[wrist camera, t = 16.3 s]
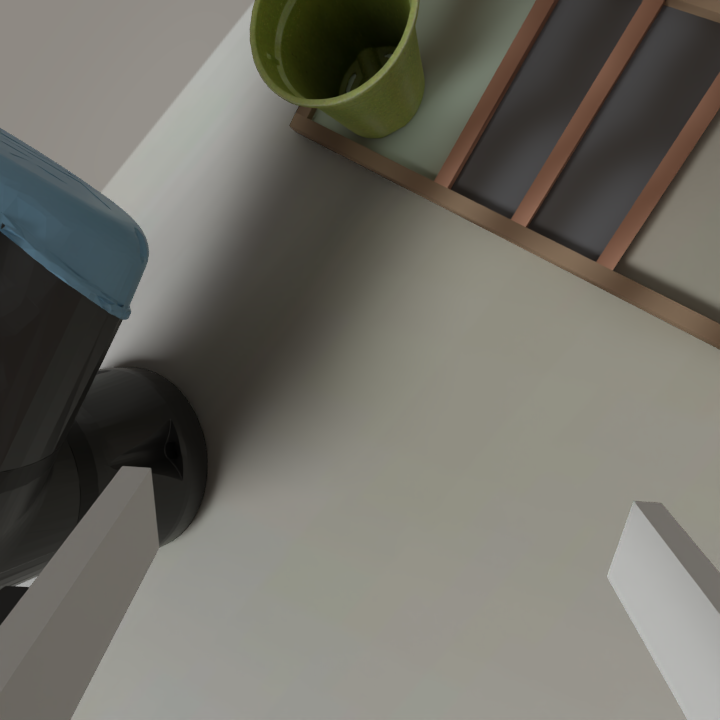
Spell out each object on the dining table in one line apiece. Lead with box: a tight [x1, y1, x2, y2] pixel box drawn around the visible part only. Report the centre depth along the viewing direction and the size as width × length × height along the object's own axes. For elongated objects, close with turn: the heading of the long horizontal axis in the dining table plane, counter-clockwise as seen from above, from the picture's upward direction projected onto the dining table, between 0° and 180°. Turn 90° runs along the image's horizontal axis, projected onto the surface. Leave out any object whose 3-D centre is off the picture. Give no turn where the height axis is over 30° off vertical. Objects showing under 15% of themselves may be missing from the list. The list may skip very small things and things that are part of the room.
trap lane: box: [289, 0, 720, 349], centre depth 30 cm, size 33×16×1 cm, turn 58°
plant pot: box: [250, 0, 425, 138], centre depth 30 cm, size 9×9×9 cm
